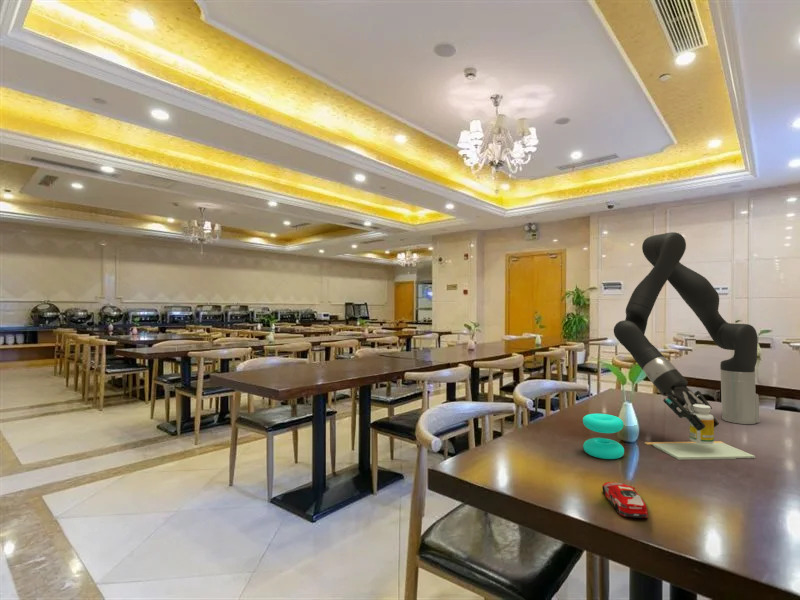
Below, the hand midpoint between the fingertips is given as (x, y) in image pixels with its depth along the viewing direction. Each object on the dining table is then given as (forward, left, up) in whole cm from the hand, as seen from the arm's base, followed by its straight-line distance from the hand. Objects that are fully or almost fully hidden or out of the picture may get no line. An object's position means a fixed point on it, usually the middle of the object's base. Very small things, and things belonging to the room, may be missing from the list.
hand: (708, 427), depth 112 cm
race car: (+38, +27, -8) cm, 47 cm away
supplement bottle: (+1, -2, -4) cm, 5 cm away
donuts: (+28, -2, -7) cm, 29 cm away
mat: (+1, -2, -7) cm, 8 cm away
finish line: (+1, -9, -7) cm, 12 cm away
